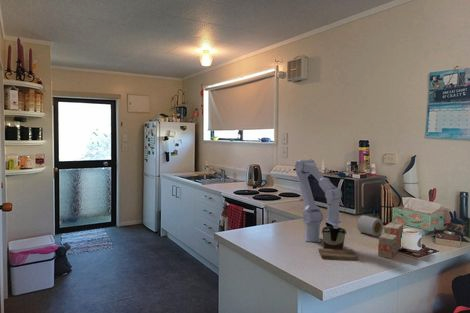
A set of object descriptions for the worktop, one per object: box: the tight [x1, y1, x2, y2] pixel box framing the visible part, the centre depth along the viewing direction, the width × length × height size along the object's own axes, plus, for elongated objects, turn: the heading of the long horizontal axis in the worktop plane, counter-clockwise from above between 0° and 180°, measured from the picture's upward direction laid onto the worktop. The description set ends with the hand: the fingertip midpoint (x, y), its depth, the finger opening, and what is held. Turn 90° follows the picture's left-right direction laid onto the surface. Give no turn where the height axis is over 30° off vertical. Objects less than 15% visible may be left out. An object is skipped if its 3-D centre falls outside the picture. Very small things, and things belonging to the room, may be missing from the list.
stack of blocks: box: [377, 221, 404, 259], centre depth 165 cm, size 21×6×12 cm, turn 142°
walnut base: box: [317, 247, 359, 261], centre depth 158 cm, size 10×16×2 cm, turn 86°
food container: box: [320, 226, 347, 249], centre depth 169 cm, size 12×6×10 cm, turn 86°
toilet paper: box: [356, 215, 384, 237], centre depth 194 cm, size 10×10×10 cm
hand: (332, 238), depth 169 cm, fingers closed on food container, 6 cm apart
